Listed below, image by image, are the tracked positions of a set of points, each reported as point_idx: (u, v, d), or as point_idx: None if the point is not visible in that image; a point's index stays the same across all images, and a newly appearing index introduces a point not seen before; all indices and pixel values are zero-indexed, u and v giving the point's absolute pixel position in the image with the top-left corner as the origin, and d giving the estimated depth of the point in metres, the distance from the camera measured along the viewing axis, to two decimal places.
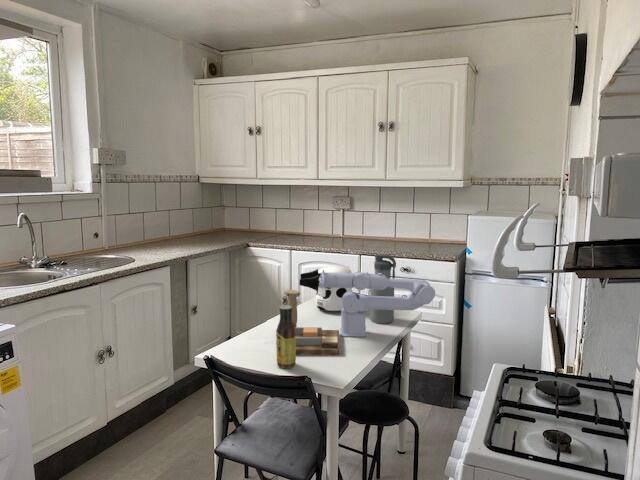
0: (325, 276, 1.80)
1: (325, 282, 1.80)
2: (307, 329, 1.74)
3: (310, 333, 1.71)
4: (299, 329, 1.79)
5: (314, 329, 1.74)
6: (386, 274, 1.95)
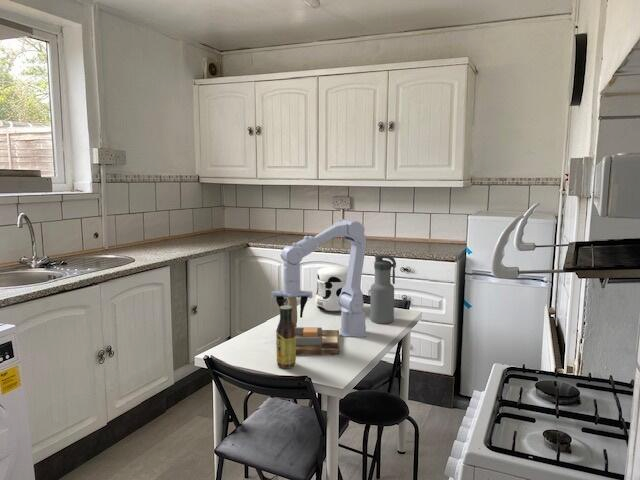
0: (297, 292, 1.70)
1: (299, 290, 1.72)
2: (307, 329, 1.74)
3: (310, 333, 1.71)
4: (299, 329, 1.79)
5: (314, 329, 1.74)
6: (386, 274, 1.95)
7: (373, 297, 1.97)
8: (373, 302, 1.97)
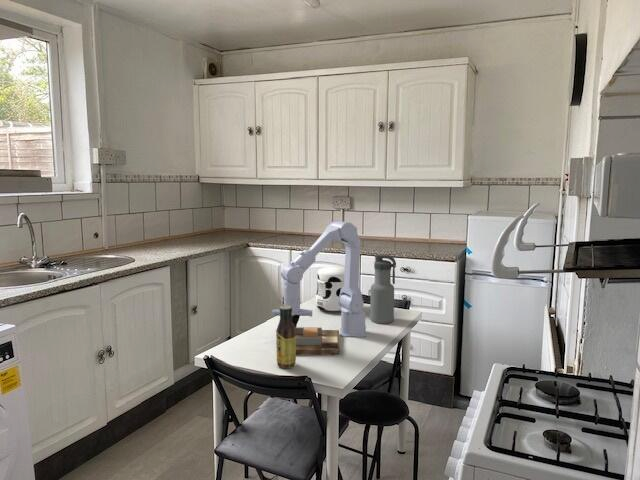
0: (297, 310, 1.71)
1: None
2: (307, 329, 1.74)
3: (310, 333, 1.71)
4: (299, 329, 1.79)
5: (314, 329, 1.74)
6: (386, 274, 1.95)
7: (373, 297, 1.97)
8: (373, 302, 1.97)
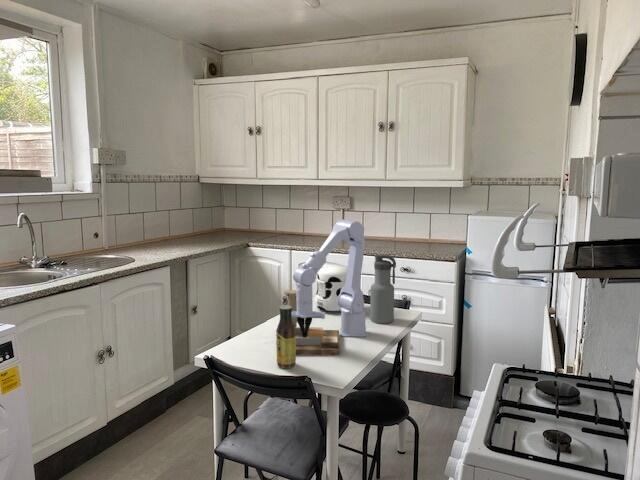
0: (310, 313, 1.71)
1: (312, 311, 1.73)
2: (312, 329, 1.74)
3: (315, 333, 1.71)
4: (299, 329, 1.79)
5: (319, 329, 1.74)
6: (386, 274, 1.95)
7: (373, 297, 1.97)
8: (373, 302, 1.97)
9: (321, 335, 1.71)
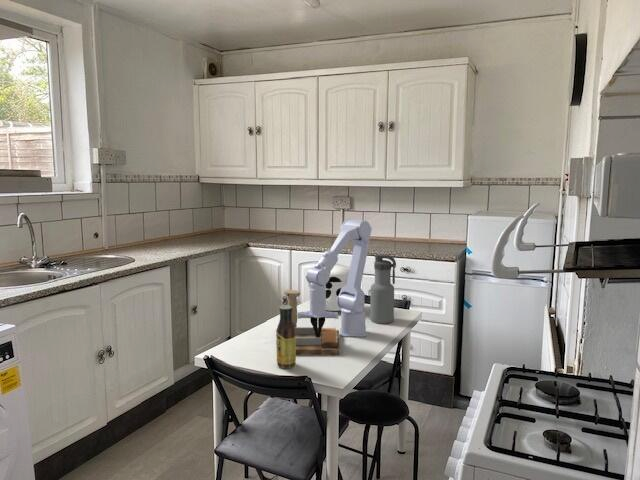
0: (323, 313, 1.70)
1: (325, 311, 1.73)
2: (325, 329, 1.74)
3: (329, 334, 1.71)
4: (299, 329, 1.79)
5: (332, 329, 1.74)
6: (386, 274, 1.95)
7: (373, 297, 1.97)
8: (373, 302, 1.97)
9: (334, 335, 1.71)
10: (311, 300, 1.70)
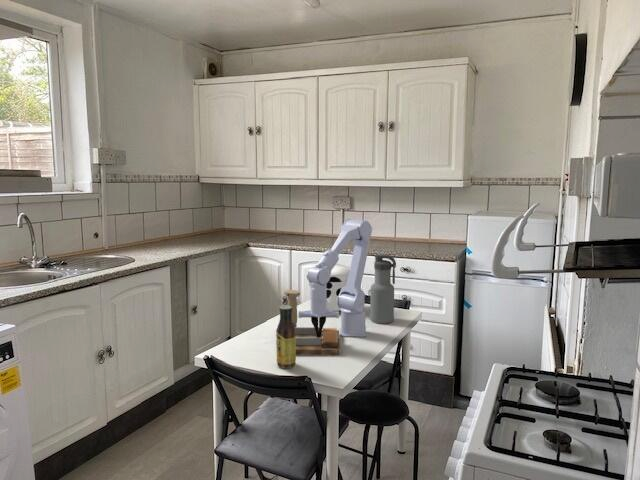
0: (324, 312, 1.70)
1: (326, 310, 1.72)
2: (326, 329, 1.74)
3: (330, 334, 1.71)
4: (299, 329, 1.79)
5: (333, 329, 1.74)
6: (386, 274, 1.95)
7: (373, 297, 1.97)
8: (373, 302, 1.97)
9: (335, 335, 1.71)
10: (312, 299, 1.70)
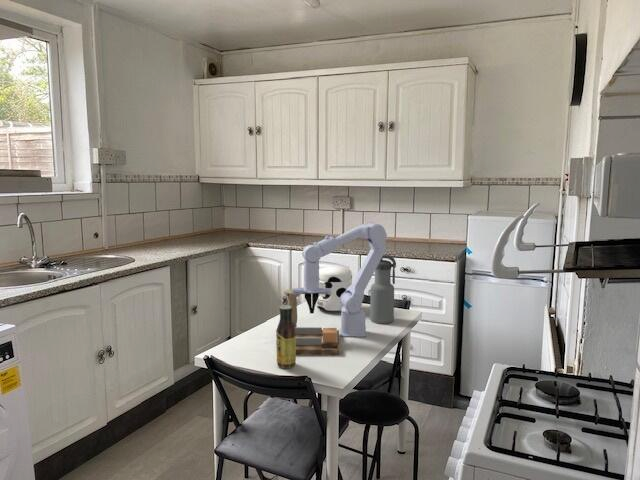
0: (317, 289, 1.78)
1: None
2: (326, 329, 1.74)
3: (330, 334, 1.71)
4: (299, 329, 1.79)
5: (333, 329, 1.74)
6: (386, 274, 1.95)
7: (373, 297, 1.97)
8: (373, 302, 1.97)
9: (335, 335, 1.71)
10: (304, 275, 1.79)
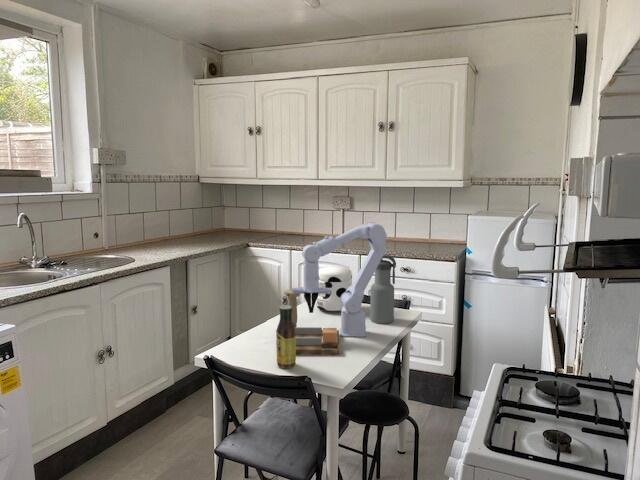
0: (316, 288, 1.78)
1: (318, 287, 1.80)
2: (326, 329, 1.74)
3: (330, 334, 1.71)
4: (299, 329, 1.79)
5: (333, 329, 1.74)
6: (386, 274, 1.95)
7: (373, 297, 1.97)
8: (373, 302, 1.97)
9: (335, 335, 1.71)
10: None
